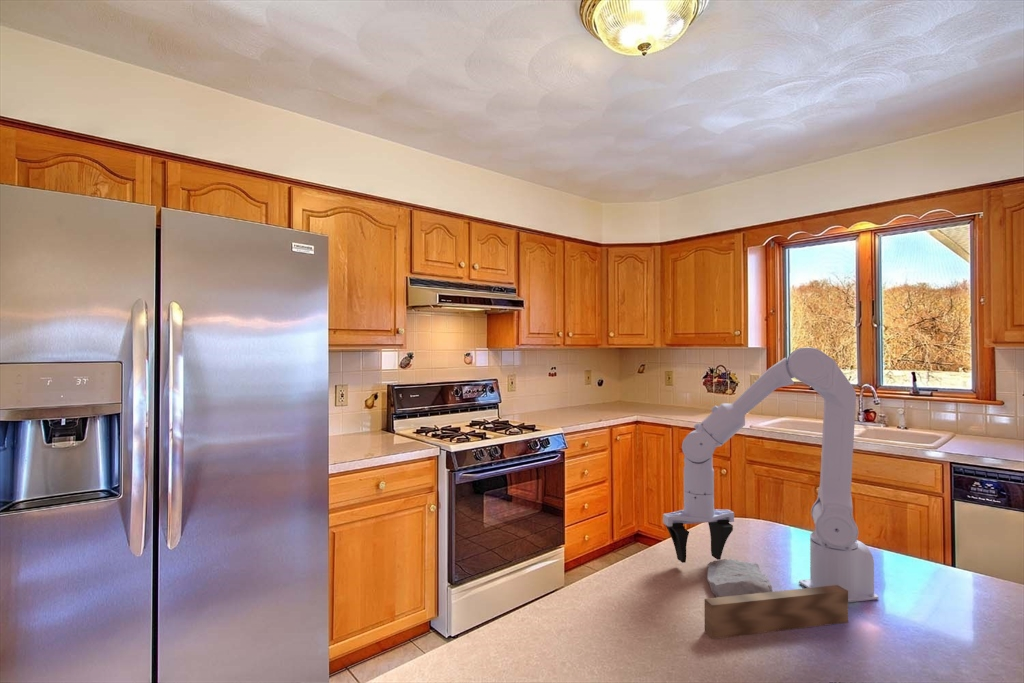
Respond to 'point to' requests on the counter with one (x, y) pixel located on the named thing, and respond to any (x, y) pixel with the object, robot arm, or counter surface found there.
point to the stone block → (736, 578)
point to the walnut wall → (775, 611)
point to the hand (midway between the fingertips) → (698, 559)
